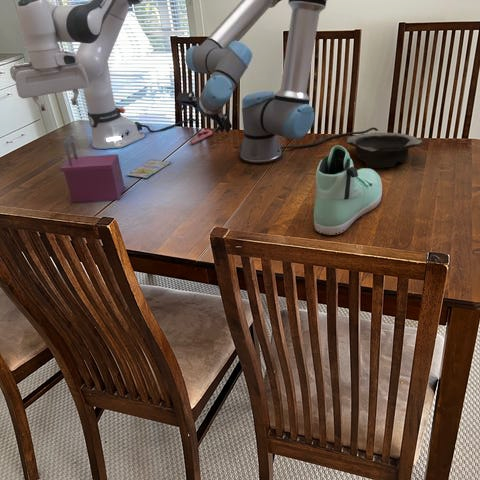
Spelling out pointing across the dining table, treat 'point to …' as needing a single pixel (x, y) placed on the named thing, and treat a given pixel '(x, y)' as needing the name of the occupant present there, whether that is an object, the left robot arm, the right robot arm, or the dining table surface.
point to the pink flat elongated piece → (202, 136)
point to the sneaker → (343, 192)
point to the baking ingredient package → (148, 168)
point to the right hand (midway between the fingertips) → (201, 118)
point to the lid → (86, 160)
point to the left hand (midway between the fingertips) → (59, 107)
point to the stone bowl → (382, 148)
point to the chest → (95, 184)
